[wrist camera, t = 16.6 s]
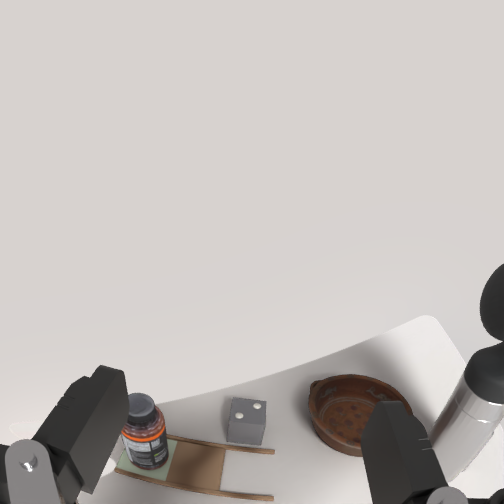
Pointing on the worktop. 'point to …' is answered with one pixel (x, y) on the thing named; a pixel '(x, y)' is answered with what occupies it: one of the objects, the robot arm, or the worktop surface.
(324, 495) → the worktop surface
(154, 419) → the supplement bottle
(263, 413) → the die
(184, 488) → the board
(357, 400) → the dish
